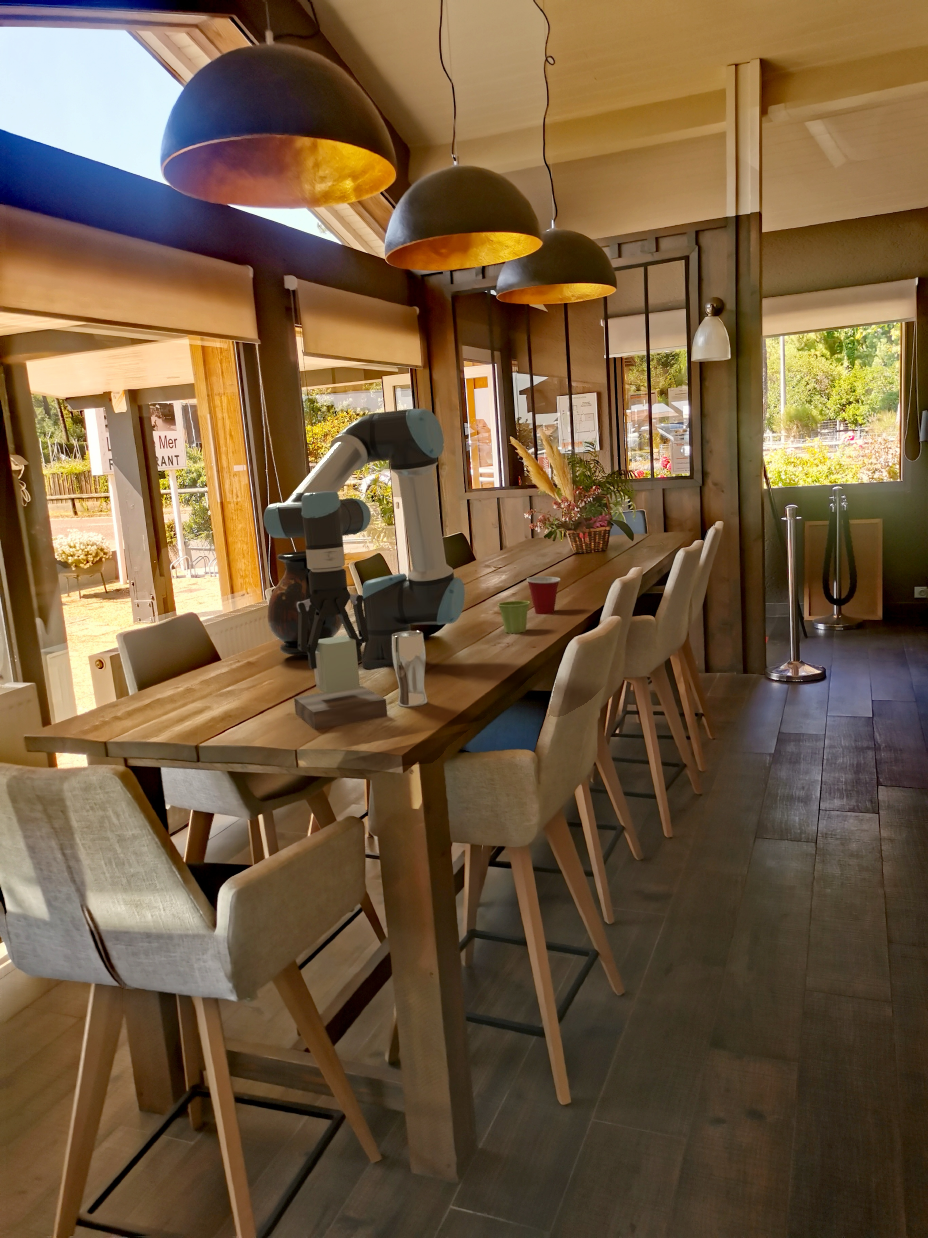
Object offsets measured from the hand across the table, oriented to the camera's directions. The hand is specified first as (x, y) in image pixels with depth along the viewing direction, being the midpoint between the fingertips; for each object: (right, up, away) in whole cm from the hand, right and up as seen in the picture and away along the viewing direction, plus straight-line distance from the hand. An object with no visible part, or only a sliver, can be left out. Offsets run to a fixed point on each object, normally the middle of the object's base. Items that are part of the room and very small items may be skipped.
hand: (337, 680), depth 190 cm
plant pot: (+41, +8, +81) cm, 92 cm away
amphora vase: (-18, +3, +77) cm, 79 cm away
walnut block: (+1, -8, +1) cm, 8 cm away
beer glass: (+15, -5, +6) cm, 17 cm away
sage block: (0, -2, 0) cm, 2 cm away
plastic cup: (+52, +14, +109) cm, 121 cm away
